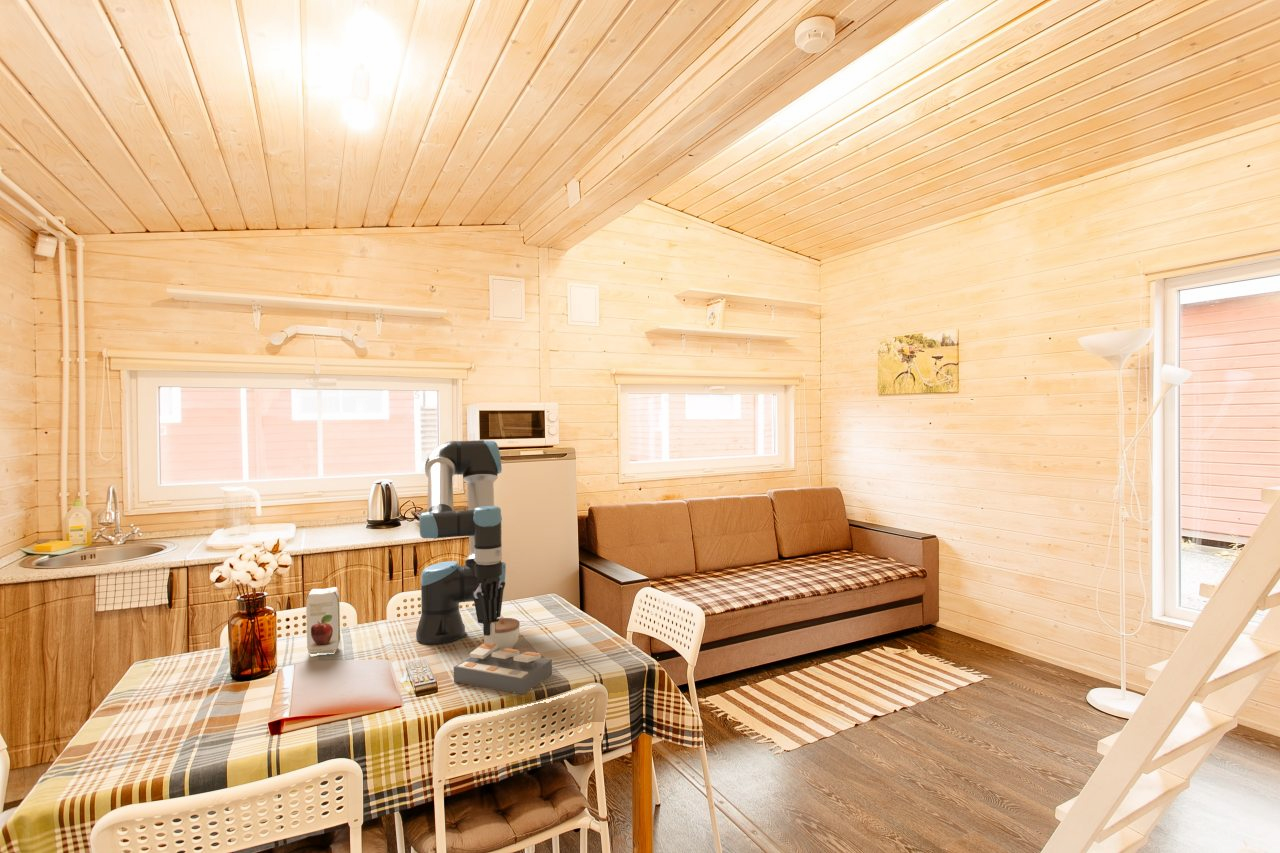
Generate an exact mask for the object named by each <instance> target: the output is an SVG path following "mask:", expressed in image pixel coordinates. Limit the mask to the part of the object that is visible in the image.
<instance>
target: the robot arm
mask: <svg viewBox="0 0 1280 853" xmlns="http://www.w3.org/2000/svg"><path fill="white" fill-rule="evenodd" d="M502 470H503V467H502V460H501V453H500V449H499V446H498V443H497V442H496V441H495V440H484V439H482V440H460V441H459V440H451V441H446V442H444V443H442V444H440V445H439V446H437V447H436V448H435V449H433V450H432V451H431V453H430V454H429V455H428V457H427V459H426V461H425V465H424V472H425V475H426V478H427V508H426V509H427V511H426V512H421V513H420V515H419V535H420V537H421V538H422V539H433V540H435V539H445V538H456V537H460V538H461V537H468V540H469V542H468V543H469V555H468V556H467V557H466V558H465V559H464V565H460V564H459V562H458V561H454V560H453V561H452V560H449V561H448V560H447V561H442V562H437V563H434V564H431V565H428V566H426V567H425V568H424V569H423V570H422V571H421V574H420V576H421V577H420V586H421V587H420V589H421V590H420V591H421V593H420V596H421V599H420V600H421V602H420V604H421V615H420V618H419V621H418V625H417V629H416V631H415V632H416V633H415V635H416V636H415V638H416V639H417V640H418V641H420V642H419V643H421V642H423V643H422V644H425V643H428V644H427V645H441V644H446V643H451V642H455V641H457V640H460V639H461V638H463V637H464V636H465V635H466V627H465V626H466V625H465V623H464V622H463V618H462V615H461V612H460V603H469V602H474V603H473V604H474V608H475V614H476V618H477V623H478V624H482V626H483V630H482V631H483V638H484V639H483V641H484V642H483V643H484V645H490V646H493V645H494V644H495V630H496V627H495V622H498V621H499V619H498V618H501V615H502V614H501V613H502V606H503V598H504V597H503V595H504V589H505V586H506V574H507V573H506V571H507V570H506V562H503V561H502V559H503V558H502V557H503V552H502V551H503V549H502V547H503V545H502V520H503V518H502V509H501V508H500V507H499V506H495V495H494V494H495V493H494V483H495V482H496V480H497V479H498V475H499V474H501V473H502ZM455 475H457V476H458V475H462V481H463V482H465V483H466V484H467V500H468V502H467V504H468V505H467V506H468V508H467V509H465V510H464V509H463V510H454V487H453V486H454V482H453V478H454V476H455ZM417 640H416V641H417ZM418 641H417V642H418ZM440 643H441V644H440Z"/></svg>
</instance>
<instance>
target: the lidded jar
mask: <svg viewBox="0 0 1280 853" xmlns="http://www.w3.org/2000/svg"><path fill="white" fill-rule="evenodd" d="M497 619H499V621H498V622H495V627H496V630H495V644H498V648H497V649H496V651H500V650H502V649H505V648H509V649H513V647H514V646H515V645H516V644H517V642H518V640H519V636H520V625H521V624H520V621H519V620H518V619H517V618H516V619H515V618H512V617H498V618H497Z"/></svg>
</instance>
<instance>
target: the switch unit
mask: <svg viewBox="0 0 1280 853" xmlns="http://www.w3.org/2000/svg"><path fill="white" fill-rule="evenodd" d="M493 652H496V650H494V651H493ZM493 652H492V653H493ZM492 653H490V654H489V655H488V656H487V657H485V658H484V659H480V658H474V657H470V656H469V657H468V658H467V659H465V660H464V661H462V662H459V663H457V665H455V666H453V682H454V683H458V684H463V685H468V684H469V686H474V687H479V688H480V687H481V688H486V689H491V690H494V691H502V692H506V691H507V692H506V693H511V692H515V693H514V694H517V693H518V695H526V694H527V693H528V692H530V691H531V690H532V689H534V688H535V687H536V686H537V684H538V685H539V684H541V683H542V682H543V681H545V680H546V679H547V678H548V677H550V676H551V675H552V674H553V659H552V658H546V657H541V658H539V659H536V660H534V661H531V662H528V663H527V662H520V661H514V660H513V659H514V656H513V657H510V658H507V659H502V658H496V657H491V655H492ZM520 654H521V653H519V655H520ZM516 656H517V655H516ZM550 674H551V675H550ZM549 675H550V676H549ZM546 677H547V678H546ZM545 678H546V679H545ZM542 680H543V681H542ZM541 681H542V682H541ZM534 686H535V687H534ZM533 687H534V688H533ZM531 688H532V689H531ZM530 689H531V690H530ZM529 690H530V691H529Z"/></svg>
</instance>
